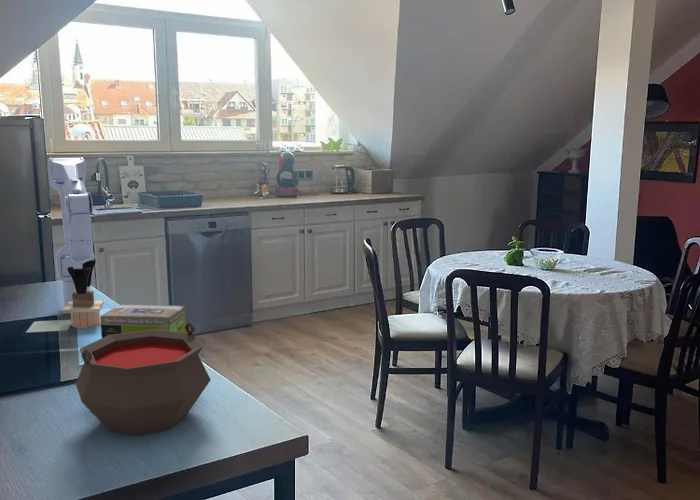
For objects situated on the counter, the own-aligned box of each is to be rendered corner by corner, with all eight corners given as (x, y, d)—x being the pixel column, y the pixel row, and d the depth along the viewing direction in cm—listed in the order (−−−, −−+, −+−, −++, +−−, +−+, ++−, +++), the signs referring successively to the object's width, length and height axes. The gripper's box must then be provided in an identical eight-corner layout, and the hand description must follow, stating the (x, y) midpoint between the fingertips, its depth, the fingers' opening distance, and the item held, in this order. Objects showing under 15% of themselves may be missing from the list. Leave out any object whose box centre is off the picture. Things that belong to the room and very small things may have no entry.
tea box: (188, 369, 147) (186, 304, 144) (172, 386, 137) (169, 317, 134) (123, 366, 148) (120, 302, 145) (102, 383, 138) (98, 314, 136)
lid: (68, 304, 180) (67, 289, 179) (103, 302, 182) (102, 287, 181) (62, 313, 171) (61, 297, 170) (99, 311, 173) (98, 295, 173)
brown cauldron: (162, 383, 138) (158, 307, 135) (238, 415, 123) (237, 331, 120) (49, 421, 120) (43, 334, 117) (123, 464, 105) (118, 366, 102)
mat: (34, 323, 179) (34, 321, 179) (74, 321, 181) (73, 319, 181) (25, 334, 170) (25, 332, 169) (67, 332, 172) (67, 330, 172)
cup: (74, 323, 180) (73, 305, 179) (101, 321, 182) (100, 303, 181) (69, 330, 173) (68, 312, 172) (98, 328, 175) (97, 310, 174)
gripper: (69, 235, 179) (72, 284, 182) (59, 244, 165) (62, 297, 168) (96, 235, 181) (99, 283, 183) (89, 243, 167) (92, 296, 169)
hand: (83, 290), depth 176 cm, fingers open, 7 cm apart
